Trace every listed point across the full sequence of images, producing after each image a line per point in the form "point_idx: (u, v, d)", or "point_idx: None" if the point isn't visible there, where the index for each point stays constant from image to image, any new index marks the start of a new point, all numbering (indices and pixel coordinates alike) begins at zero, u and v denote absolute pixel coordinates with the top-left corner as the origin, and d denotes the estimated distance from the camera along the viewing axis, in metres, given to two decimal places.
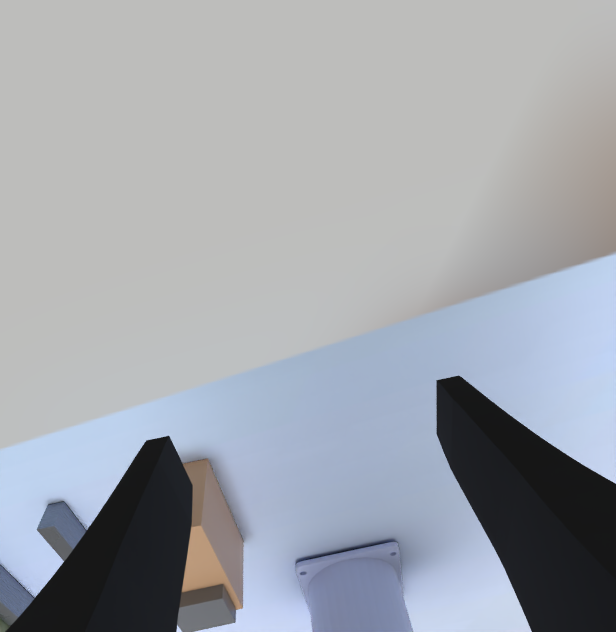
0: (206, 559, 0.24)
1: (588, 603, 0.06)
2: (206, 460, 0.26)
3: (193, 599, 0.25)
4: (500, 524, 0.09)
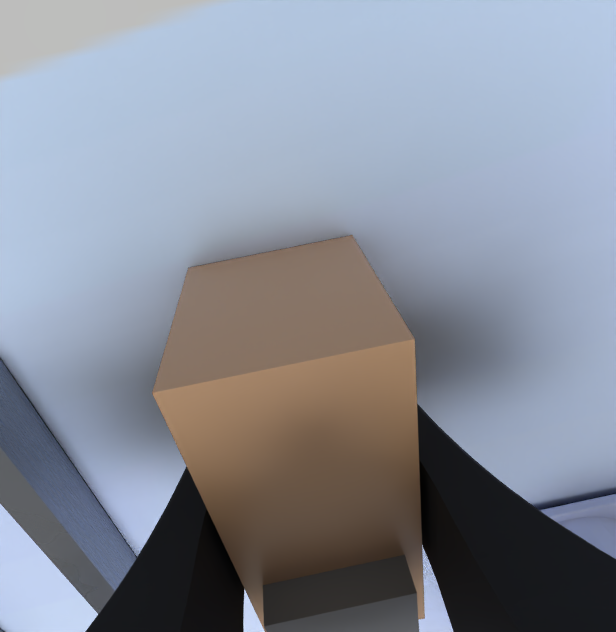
0: (388, 477, 0.08)
1: (488, 625, 0.06)
2: (351, 239, 0.10)
3: (332, 596, 0.09)
4: (431, 540, 0.09)
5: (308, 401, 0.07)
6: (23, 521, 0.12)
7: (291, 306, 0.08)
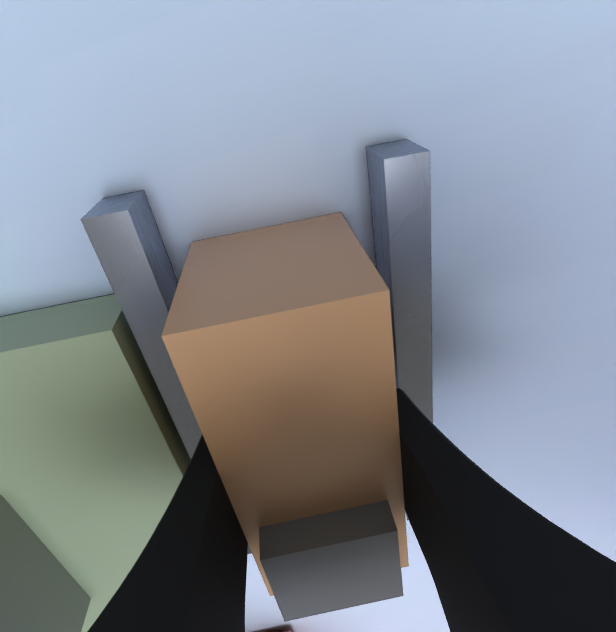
0: (370, 421, 0.09)
1: (484, 626, 0.06)
2: (340, 215, 0.11)
3: (322, 534, 0.10)
4: (428, 540, 0.09)
5: (297, 347, 0.08)
6: (400, 326, 0.11)
7: (283, 269, 0.09)
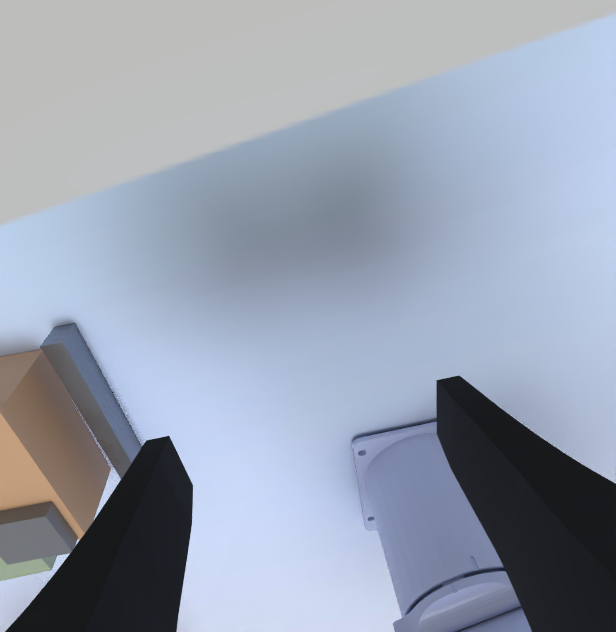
0: (20, 463, 0.19)
1: (588, 603, 0.06)
2: (40, 350, 0.21)
3: (10, 517, 0.20)
4: (500, 525, 0.09)
5: None
6: (85, 415, 0.21)
7: None
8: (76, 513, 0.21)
